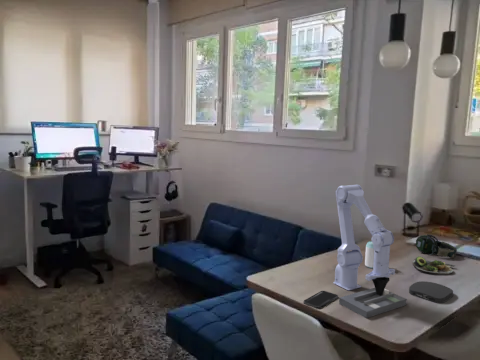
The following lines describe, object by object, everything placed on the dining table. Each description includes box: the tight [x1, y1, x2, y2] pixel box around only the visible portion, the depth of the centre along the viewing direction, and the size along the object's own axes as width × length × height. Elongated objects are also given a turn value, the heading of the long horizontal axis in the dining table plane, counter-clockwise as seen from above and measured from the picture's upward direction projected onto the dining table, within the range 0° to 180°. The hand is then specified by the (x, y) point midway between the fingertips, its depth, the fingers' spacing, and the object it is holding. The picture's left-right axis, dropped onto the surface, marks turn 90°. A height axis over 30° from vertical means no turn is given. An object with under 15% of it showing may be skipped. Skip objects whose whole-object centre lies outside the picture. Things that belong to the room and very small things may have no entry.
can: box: [364, 240, 374, 269], centre depth 209 cm, size 7×7×12 cm
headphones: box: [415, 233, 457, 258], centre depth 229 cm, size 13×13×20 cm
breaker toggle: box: [383, 288, 390, 296], centre depth 170 cm, size 4×2×2 cm, turn 31°
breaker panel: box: [338, 287, 407, 319], centre depth 167 cm, size 14×22×4 cm, turn 121°
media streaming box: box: [408, 280, 454, 304], centre depth 178 cm, size 15×15×3 cm
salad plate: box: [412, 255, 456, 275], centre depth 207 cm, size 19×18×5 cm
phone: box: [302, 290, 339, 310], centre depth 171 cm, size 8×1×15 cm
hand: (379, 294), depth 169 cm, fingers closed
